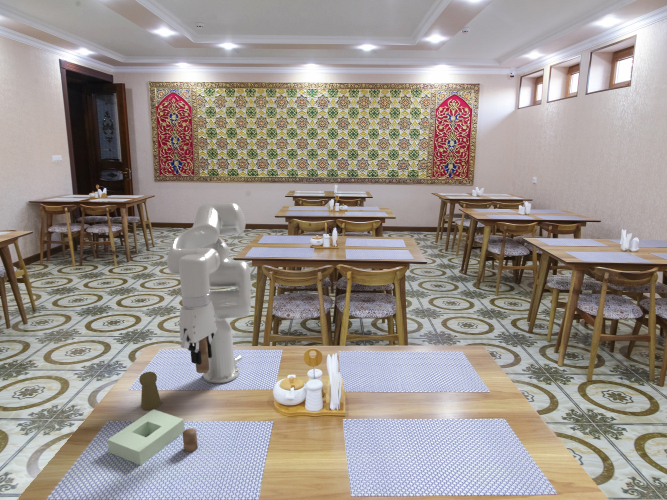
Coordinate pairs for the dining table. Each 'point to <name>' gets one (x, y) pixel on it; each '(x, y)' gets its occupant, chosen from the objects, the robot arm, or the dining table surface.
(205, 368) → the long peg
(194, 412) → the dining table surface
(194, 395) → the dining table surface
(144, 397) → the olive brown pawn
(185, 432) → the short peg
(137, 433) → the hole block
